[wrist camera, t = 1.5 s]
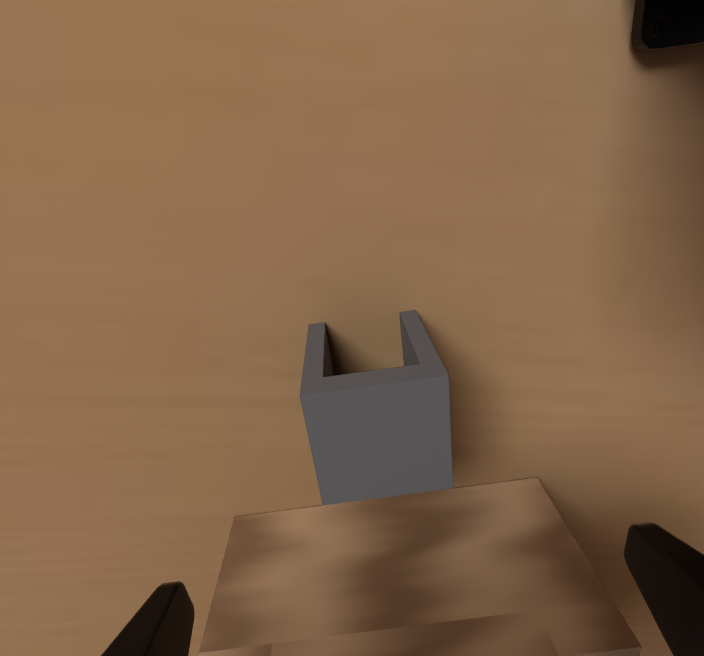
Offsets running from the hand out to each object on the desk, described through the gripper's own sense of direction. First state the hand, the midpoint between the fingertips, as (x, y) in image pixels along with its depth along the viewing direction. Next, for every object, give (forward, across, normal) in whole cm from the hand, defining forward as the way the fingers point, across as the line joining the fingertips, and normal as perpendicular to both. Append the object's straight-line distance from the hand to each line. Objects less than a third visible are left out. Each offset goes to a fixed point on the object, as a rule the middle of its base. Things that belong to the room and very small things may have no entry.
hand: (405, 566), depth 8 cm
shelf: (+8, 0, +15) cm, 17 cm away
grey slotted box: (+9, 0, 0) cm, 9 cm away
